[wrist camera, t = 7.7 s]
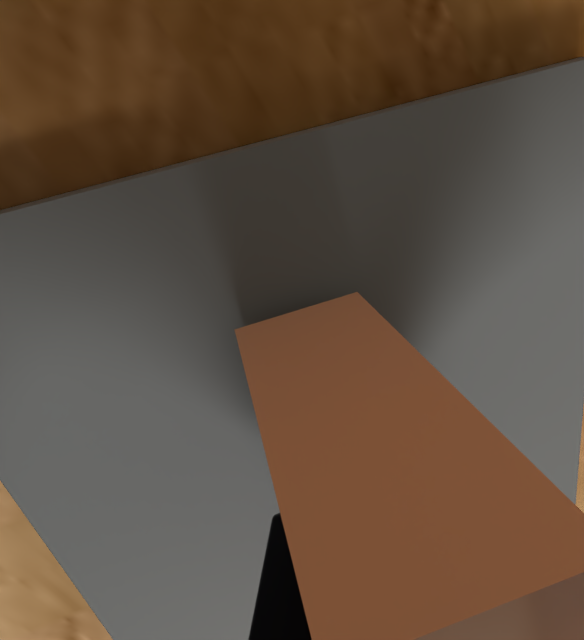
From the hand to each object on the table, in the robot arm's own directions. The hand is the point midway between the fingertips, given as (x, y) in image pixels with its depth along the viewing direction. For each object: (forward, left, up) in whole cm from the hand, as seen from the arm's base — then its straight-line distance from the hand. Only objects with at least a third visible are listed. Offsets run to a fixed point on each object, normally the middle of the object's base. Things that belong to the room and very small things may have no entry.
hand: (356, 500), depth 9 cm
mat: (0, 0, -3) cm, 3 cm away
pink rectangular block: (0, 0, -1) cm, 1 cm away
